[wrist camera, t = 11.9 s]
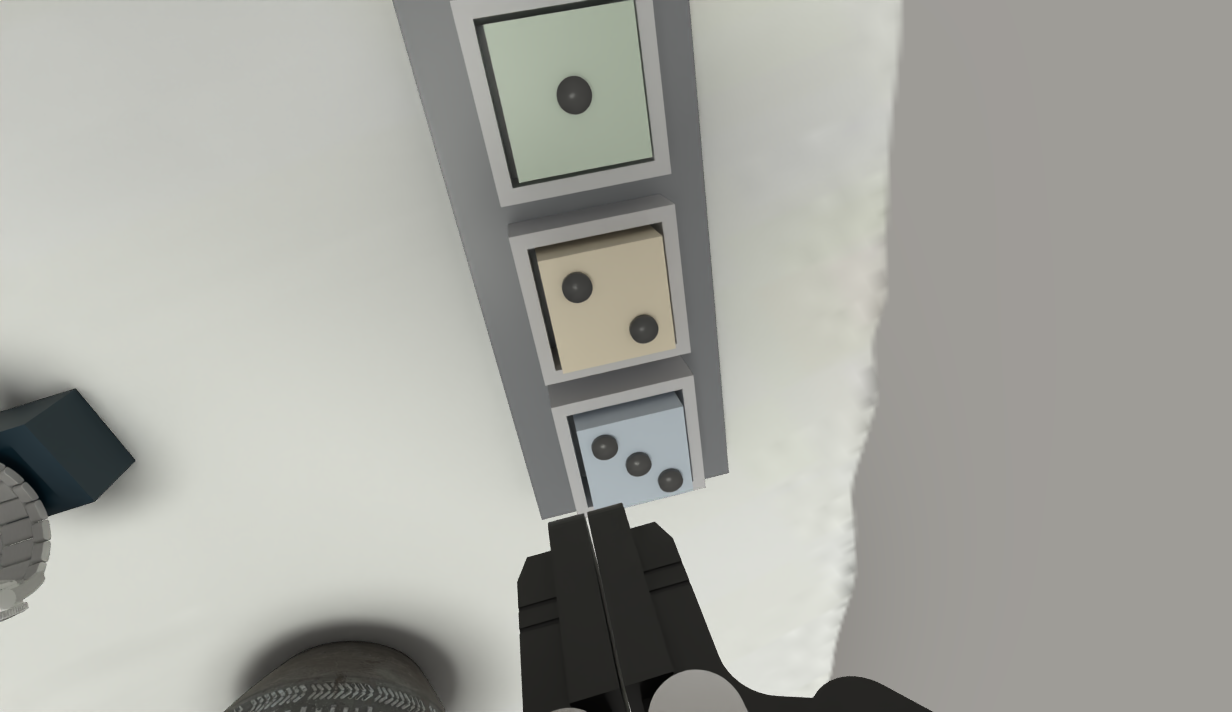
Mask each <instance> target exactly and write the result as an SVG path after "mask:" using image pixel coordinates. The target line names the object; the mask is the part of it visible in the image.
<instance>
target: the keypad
mask: <svg viewBox="0 0 1232 712" xmlns="http://www.w3.org/2000/svg"><path fill="white" fill-rule="evenodd" d="M392 1H393V4H394V8H395V11H396V15H397V18H398V22H399V25H400V29H401V32H402V36H403V39H404V43H405V46H406V50H407V53H408V56H409V60H410V63H411V67H412V70H413V74H414V77H415V81H416V84H417V88H418V91H419V95H420V98H421V102H422V105H423V109H424V112H425V115H426V119H427V122H428V126H429V129H430V133H431V136H432V140H433V143H434V147H435V150H436V154H437V157H438V161H439V164H440V168H441V171H442V174H443V178H444V181H445V185H446V188H447V192H448V195H449V199H450V202H451V206H452V209H453V213H454V216H455V220H456V223H457V227H458V230H459V233H460V237H461V240H462V244H463V247H464V251H465V254H466V258H467V261H468V265H469V268H470V272H471V275H472V279H473V282H474V286H475V289H476V292H477V296H478V299H479V303H480V306H481V310H482V313H483V317H484V320H485V324H486V327H487V331H488V334H489V338H490V341H491V345H492V348H493V351H494V355H495V358H496V362H497V365H498V369H499V372H500V376H501V379H502V383H503V386H504V390H505V393H506V397H507V400H508V404H509V407H510V410H511V414H512V417H513V421H514V424H515V428H516V431H517V435H518V438H519V442H520V445H521V449H522V452H523V456H524V459H525V463H526V466H527V469H528V473H529V476H530V480H531V483H532V487H533V490H534V494H535V497H536V501H537V504H538V508H539V511H540V515H541V518H542V520H543V519H547V518H551V517H555V516H559V515H563V514H567V513H571V512H575V511H577V515H578V514H582V513H584V515H585V518H587V517H588V515H587V512H589V511H592V510H594V506H593V502H592V497H591V493H590V489H589V484H588V480H587V475H586V471H585V467H584V462H583V458H582V454H581V449H580V445H579V441H578V436H577V432H576V427H575V423H574V418H573V414H578V413H582V412H586V411H591V410H595V409H599V408H603V407H608V406H612V405H616V404H620V403H625V402H629V401H633V400H637V399H642V398H646V397H650V396H655V395H659V394H663V393H667V392H672V391H675V393H676V395H677V397H678V398H679V400H680V402H681V404H682V405H683V410H684V418H685V426H686V435H687V443H688V451H689V459H690V467H691V476H692V484H693V491H694V490H698V489H702V488H706V486H705V479H707V478H711V477H715V476H719V475H723V474H727V473H729V470H728V458H727V446H726V434H725V422H724V410H723V398H722V386H721V374H720V363H719V351H718V339H717V327H716V315H715V303H714V291H713V279H712V267H711V255H710V243H709V232H708V220H707V208H706V196H705V184H704V172H703V160H702V148H701V136H700V124H699V112H698V100H697V89H696V77H695V65H694V53H693V41H692V29H691V17H690V5H689V0H633V1H634V9H635V18H636V26H637V34H638V42H639V50H640V58H641V67H642V75H643V83H644V91H645V99H646V108H647V116H648V124H649V132H650V140H651V148H652V157H650V158H645V159H640V160H634V161H629V162H624V163H619V164H614V165H609V166H603V167H598V168H593V169H588V170H583V171H578V172H572V173H567V174H562V175H557V176H552V177H547V178H541V179H536V180H531V181H526V182H521V183H519V179H518V175H517V171H516V166H515V162H514V158H513V153H512V149H511V144H510V140H509V136H508V131H507V127H506V123H505V118H504V114H503V110H502V105H501V101H500V97H499V92H498V88H497V83H496V79H495V75H494V70H493V66H492V62H491V57H490V53H489V49H488V44H487V40H486V36H485V31H484V27H483V25H484V24H490V23H496V22H502V21H508V20H514V19H520V18H526V17H532V16H538V15H544V14H550V13H556V12H562V11H568V10H574V9H580V8H586V7H592V6H598V5H604V4H610V3H616V2H622V1H628V0H392ZM649 224H650V225H651V226H652V227H653V228H654V229H655V230H656V231H657V232H658V233H659V234H661V235H662V238H663V247H664V255H665V263H666V271H667V279H668V287H669V296H670V304H671V312H672V320H673V328H674V337H675V345H676V348H675V349H671V350H666V351H662V352H658V353H653V354H649V355H644V356H640V357H636V358H631V359H627V360H622V361H618V362H614V363H609V364H605V365H600V366H596V367H592V368H587V369H583V370H578V371H574V372H570V373H565V374H563V371H562V367H561V362H560V358H559V354H558V349H557V345H556V340H555V336H554V332H553V327H552V323H551V319H550V314H549V310H548V306H547V301H546V297H545V293H544V288H543V284H542V279H541V275H540V271H539V266H538V262H537V257H536V252H535V248H537V247H542V246H546V245H551V244H556V243H561V242H566V241H571V240H576V239H581V238H585V237H590V236H595V235H600V234H605V233H610V232H615V231H620V230H625V229H629V228H634V227H639V226H644V225H649ZM689 492H690V491H689ZM685 493H686V492H685ZM681 494H682V493H681ZM677 495H678V494H677ZM673 496H674V495H673Z"/></svg>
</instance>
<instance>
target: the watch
mask: <svg viewBox="0 0 1232 712" xmlns="http://www.w3.org/2000/svg"><path fill="white" fill-rule="evenodd" d="M134 462H135V459H134V458H133V457H132V456H131V455H130V453H129V452H128V451H127V450H126V449H125V447H124V446H123V445H122V444H121V443H120V441H119V440H118V439H117V438H116V437H115V435H114V434H113V433H112V432H111V431H110V429H109V428H108V427H107V426H106V425H105V423H104V422H103V421H102V420H101V419H100V417H99V416H98V415H97V414H96V413H95V411H94V410H93V409H92V408H91V407H90V405H89V404H88V403H87V402H86V401H85V399H84V398H83V397H82V396H81V395H80V393H79V392H78V391H77V390H76V389H73V390H70V391H66V392H63V393H60V394H57V395H53V396H50V397H47V398H44V399H40V400H37V401H34V402H31V403H27V404H24V405H21V406H18V407H14V408H11V409H8V410H5V411H1V412H0V622H2V621H4V620H6V619H8V618H11V617H13V616H15V615H17V614H19V613H21V612H23V611H25V610H26V609H28V608H29V607H28V603H27V602H24V603H23V599H25V598H26V597H28V596H29V595H31V594H32V593H33V592H35V591H36V590H37V589H38V588H39V587H40V586H41V585H42V584H43V582H44V580H45V577H44V572H45V569H46V565H47V564H46V563H45V562H47V561H48V560H49V555H50V546H51V543H50V541H48V540H50V539H51V530H50V524H49V521H48V520H45V519H47V518H48V516H51V515H54V514H57V513H60V512H63V511H67V510H70V509H73V508H76V507H79V506H82V505H85V504H89V503H92V502H95V501H96V500H97V499H98V498H99V497H100V496H101V495H102V494H103V493H104V492H105V491H106V490H107V489H108V488H109V487H110V486H111V485H112V484H113V483H114V482H115V481H116V480H117V479H118V478H119V477H120V476H121V475H122V474H123V473H124V472H125V471H126V470H127V469H128V468H129V467H130V466H131V465H132V464H133V463H134ZM42 520H44V521H42ZM38 521H40V522H38ZM30 538H32V539H30ZM27 539H28V540H27ZM24 540H25V541H24ZM21 541H22V542H21ZM18 542H19V543H18ZM15 543H16V544H15ZM12 544H13V545H12Z"/></svg>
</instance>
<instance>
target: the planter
mask: <svg viewBox="0 0 1232 712" xmlns="http://www.w3.org/2000/svg"><path fill="white" fill-rule="evenodd" d="M224 712H445V710H444V708H443V706H442V704H441V702H440V700H439V698H438V697H437V695H436V693H435V691H434V690H433V688H432V686H431V685H430V683H429V682H428V680H427V679H426V677H425V676H424V674H423V673H422V671H421V670H420V668H419V667H418V666H417V664H416V663H415V662H414V661H413V660H411V659H410V658H409V657H407V656H406V655H404V654H403V653H401V652H399V651H397V650H395V649H392V648H390V647H387V646H384V645H380V644H375V643H369V642H358V641H347V642H336V643H330V644H325V645H321V646H317V647H314V648H311V649H308V650H306V651H304V652H301V653H299V654H297V655H296V656H294V657H292V658H291V659H289V660H288V661H287V662H285V663H284V664H283V665H281V666H280V667H278V668H277V669H276V670H274V671H273V672H271V673H270V674H269V675H267V676H266V677H265V678H263V679H262V680H261V681H260V682H258V683H257V684H256V685H254V686H253V687H252V688H251V689H250V690H248V691H247V692H246V693H245V694H244V695H242V696H241V697H240V698H239V699H238V700H236V701H235V702H234V703H233V704H232V705H231V706H230V707H229V708H228V709H226V710H225V711H224Z"/></svg>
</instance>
